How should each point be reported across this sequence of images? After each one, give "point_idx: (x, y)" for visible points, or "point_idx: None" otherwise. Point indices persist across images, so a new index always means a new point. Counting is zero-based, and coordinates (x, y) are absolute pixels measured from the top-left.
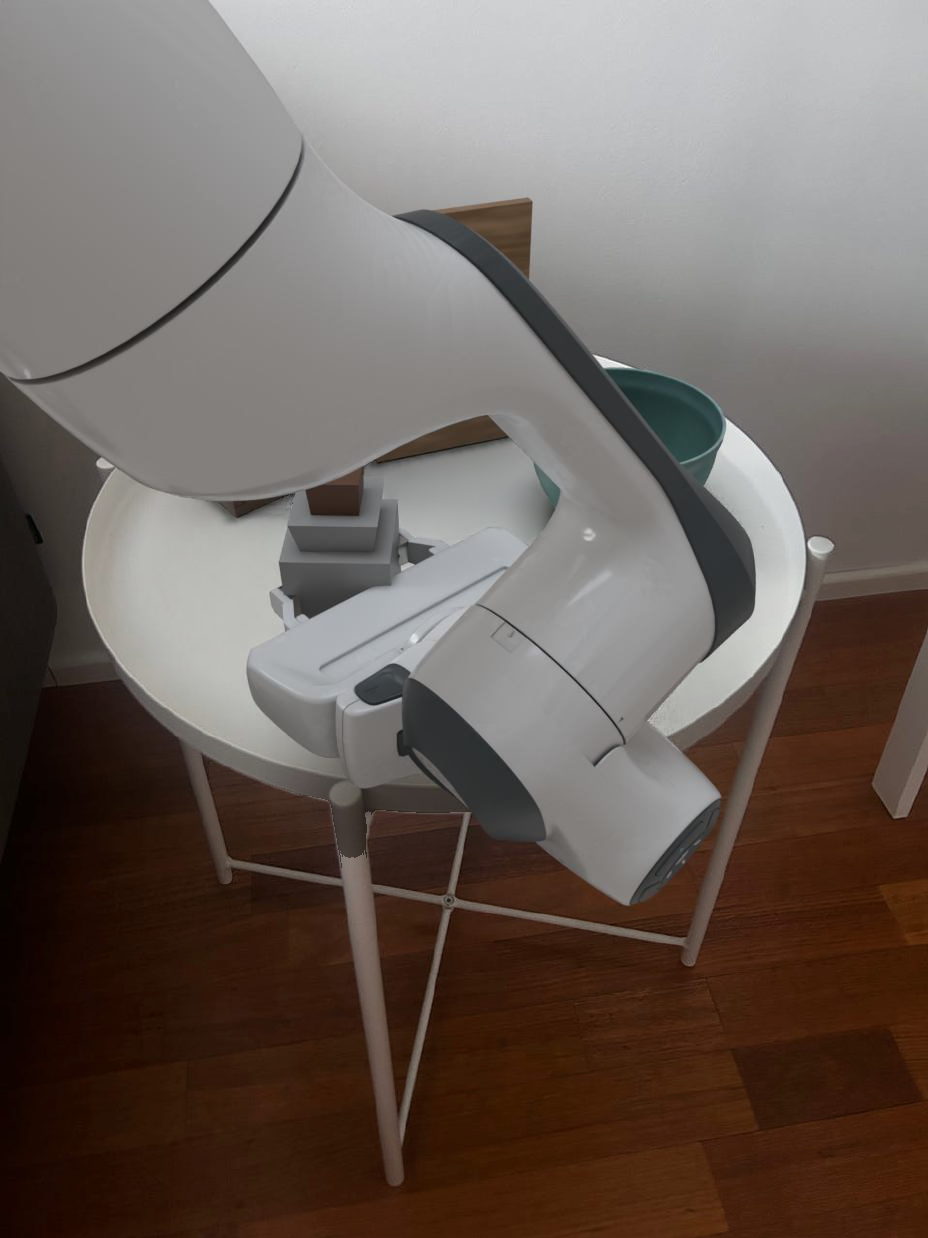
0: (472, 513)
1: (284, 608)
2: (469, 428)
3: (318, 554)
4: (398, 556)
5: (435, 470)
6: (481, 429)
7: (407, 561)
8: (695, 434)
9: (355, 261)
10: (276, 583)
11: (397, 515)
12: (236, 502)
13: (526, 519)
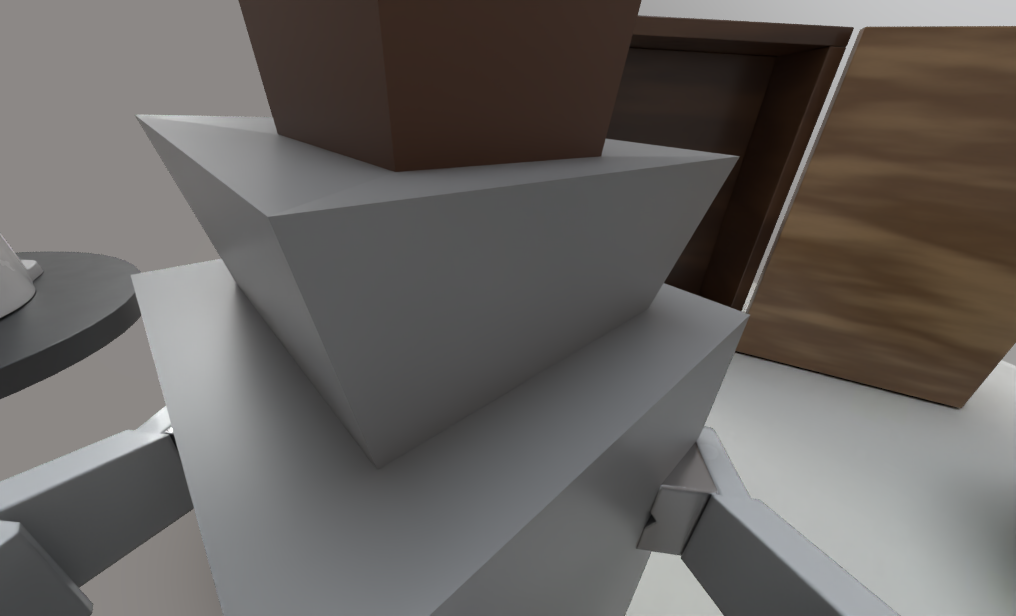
0: (850, 471)
1: (83, 449)
2: (878, 366)
3: (233, 320)
4: (650, 518)
5: (805, 390)
6: (896, 375)
7: (678, 551)
8: None
9: None
10: None
11: (717, 374)
12: None
13: (967, 542)
